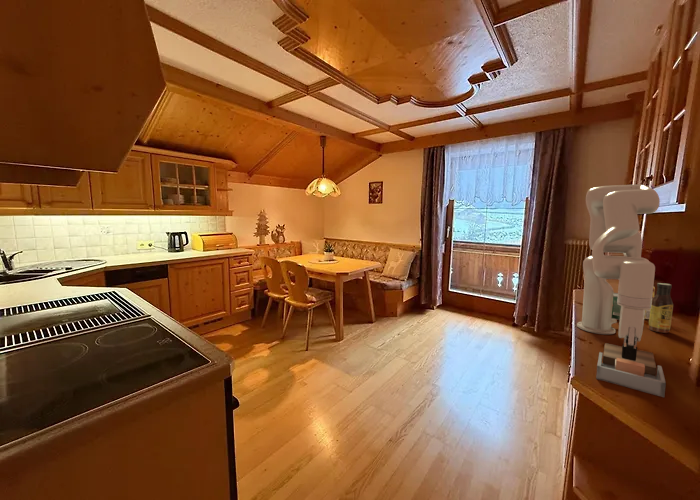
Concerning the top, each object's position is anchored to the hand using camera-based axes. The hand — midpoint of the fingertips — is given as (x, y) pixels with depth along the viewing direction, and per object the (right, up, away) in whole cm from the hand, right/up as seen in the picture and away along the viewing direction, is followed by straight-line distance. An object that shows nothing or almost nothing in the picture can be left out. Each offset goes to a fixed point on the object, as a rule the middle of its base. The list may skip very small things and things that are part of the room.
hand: (628, 358), depth 92 cm
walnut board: (+5, -4, +5) cm, 8 cm away
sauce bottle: (+42, 0, +31) cm, 52 cm away
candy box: (+51, +2, +49) cm, 71 cm away
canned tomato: (+39, +2, +48) cm, 62 cm away
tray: (-4, -5, -4) cm, 7 cm away
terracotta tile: (-3, -2, -4) cm, 5 cm away
